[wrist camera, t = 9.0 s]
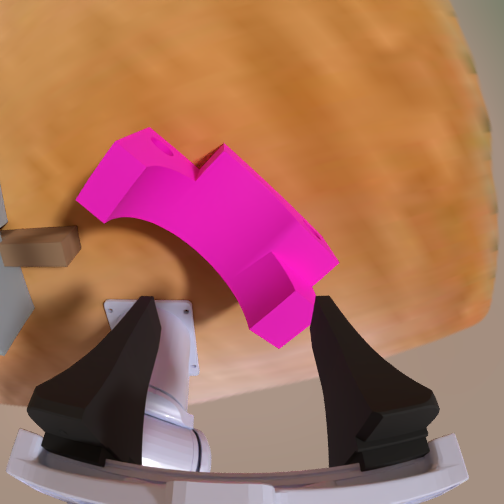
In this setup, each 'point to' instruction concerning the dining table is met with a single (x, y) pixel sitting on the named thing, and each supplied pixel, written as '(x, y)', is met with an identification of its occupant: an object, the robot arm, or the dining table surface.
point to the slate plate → (11, 297)
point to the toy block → (219, 225)
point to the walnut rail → (39, 246)
